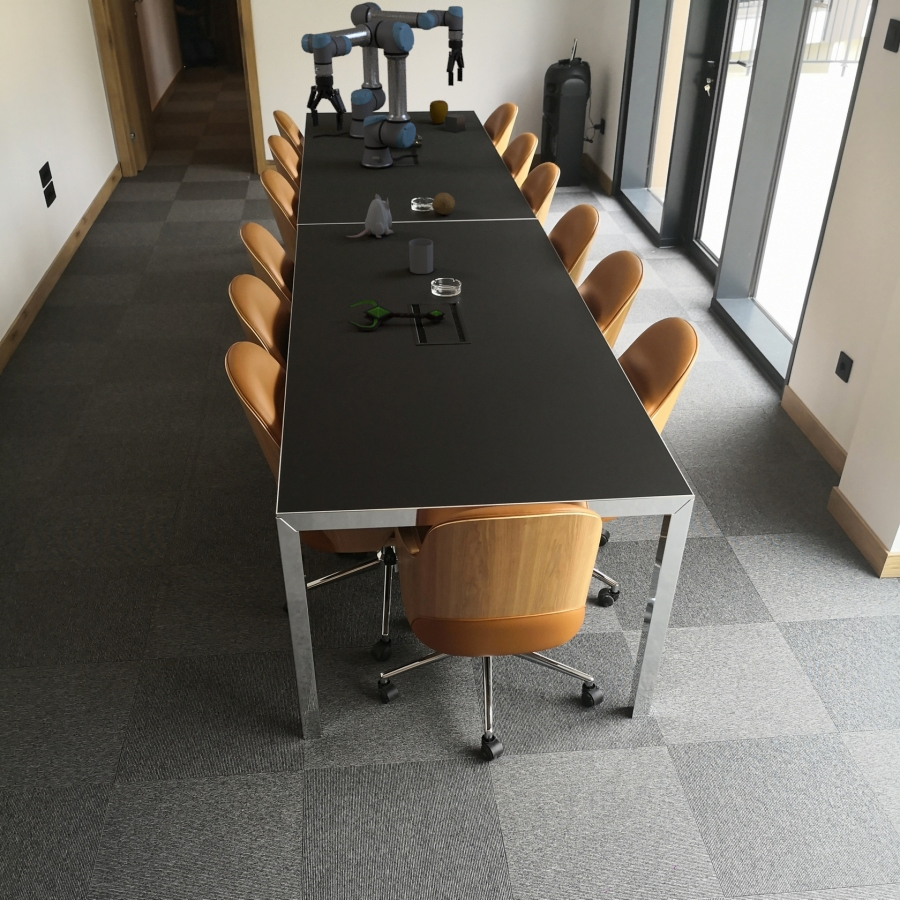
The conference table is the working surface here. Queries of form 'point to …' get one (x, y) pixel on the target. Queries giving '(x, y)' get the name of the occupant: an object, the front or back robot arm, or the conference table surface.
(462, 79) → the back robot arm
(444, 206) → the potato
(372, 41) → the front robot arm
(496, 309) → the conference table surface
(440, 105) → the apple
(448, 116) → the gray cube
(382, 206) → the toy
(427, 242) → the cup
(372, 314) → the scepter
